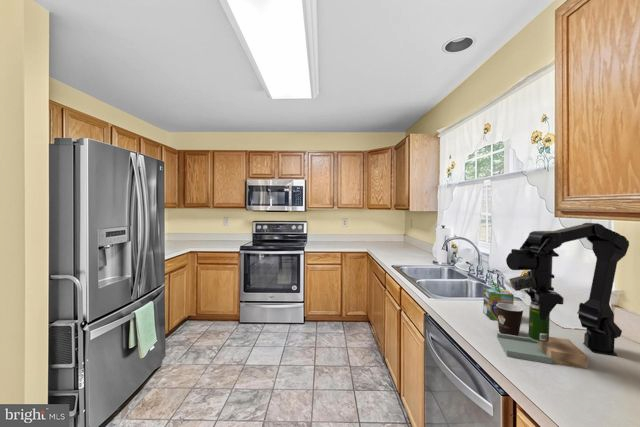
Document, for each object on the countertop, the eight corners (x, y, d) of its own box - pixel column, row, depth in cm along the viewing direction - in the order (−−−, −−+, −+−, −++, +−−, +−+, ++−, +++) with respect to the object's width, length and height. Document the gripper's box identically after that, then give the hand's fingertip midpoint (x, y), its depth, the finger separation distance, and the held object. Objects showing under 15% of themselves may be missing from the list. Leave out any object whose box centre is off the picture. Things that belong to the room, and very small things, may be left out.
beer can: (553, 343, 94) (554, 306, 93) (537, 343, 93) (538, 307, 93) (539, 336, 99) (540, 301, 99) (524, 336, 99) (525, 301, 98)
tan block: (568, 349, 98) (569, 339, 98) (587, 368, 87) (587, 356, 87) (536, 344, 101) (537, 335, 101) (550, 362, 90) (551, 350, 90)
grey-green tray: (535, 343, 102) (536, 338, 102) (551, 363, 89) (552, 357, 89) (496, 337, 106) (496, 332, 106) (506, 356, 93) (506, 350, 93)
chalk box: (513, 322, 122) (515, 287, 121) (489, 319, 124) (490, 285, 123) (504, 314, 131) (505, 281, 130) (482, 312, 133) (483, 280, 132)
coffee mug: (526, 339, 106) (527, 312, 105) (500, 336, 107) (501, 310, 107) (512, 326, 117) (513, 301, 117) (489, 324, 119) (489, 300, 118)
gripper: (505, 262, 107) (504, 304, 107) (520, 273, 89) (519, 323, 90) (541, 265, 103) (540, 308, 104) (565, 277, 86) (563, 329, 86)
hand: (539, 316), depth 96 cm, fingers closed on beer can, 5 cm apart
